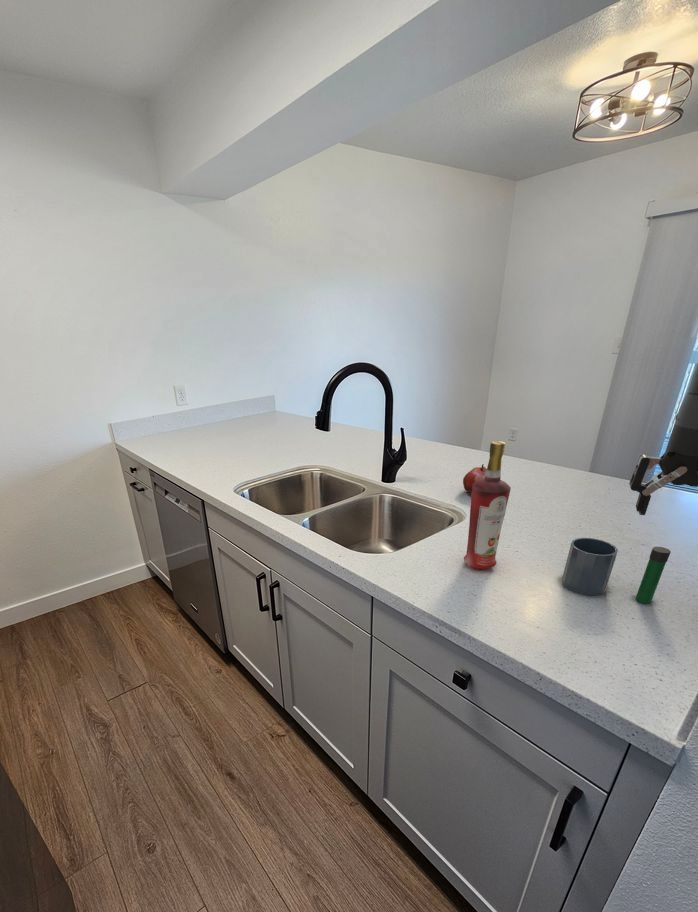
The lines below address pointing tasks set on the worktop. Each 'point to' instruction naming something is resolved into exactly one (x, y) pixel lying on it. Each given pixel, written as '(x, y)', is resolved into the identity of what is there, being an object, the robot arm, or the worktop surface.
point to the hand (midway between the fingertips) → (671, 517)
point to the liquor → (487, 512)
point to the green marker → (652, 574)
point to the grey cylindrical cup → (589, 566)
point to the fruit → (473, 477)
